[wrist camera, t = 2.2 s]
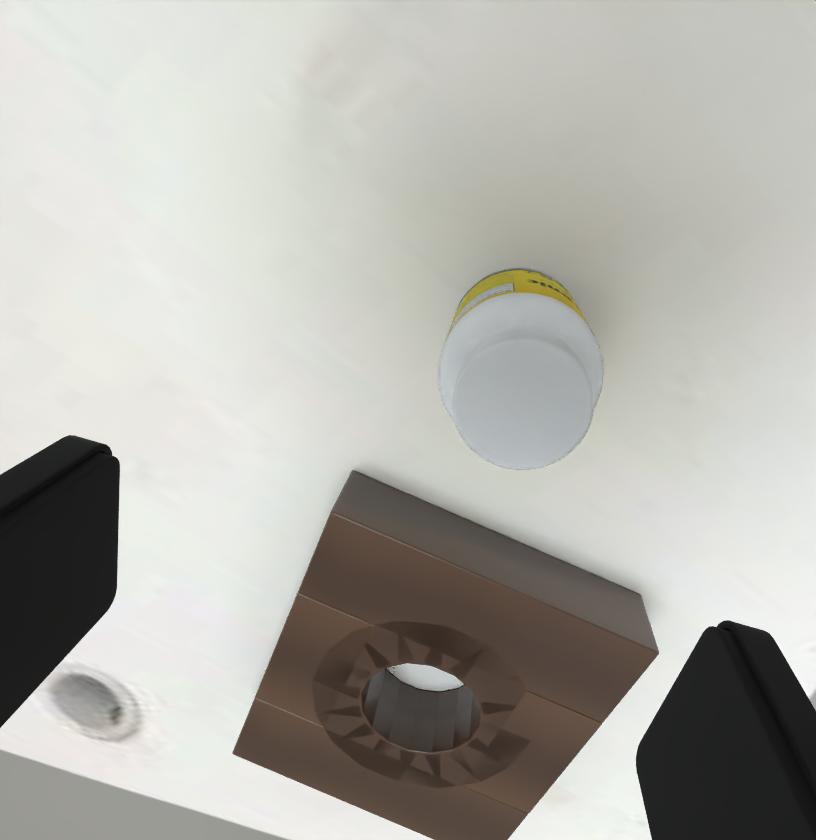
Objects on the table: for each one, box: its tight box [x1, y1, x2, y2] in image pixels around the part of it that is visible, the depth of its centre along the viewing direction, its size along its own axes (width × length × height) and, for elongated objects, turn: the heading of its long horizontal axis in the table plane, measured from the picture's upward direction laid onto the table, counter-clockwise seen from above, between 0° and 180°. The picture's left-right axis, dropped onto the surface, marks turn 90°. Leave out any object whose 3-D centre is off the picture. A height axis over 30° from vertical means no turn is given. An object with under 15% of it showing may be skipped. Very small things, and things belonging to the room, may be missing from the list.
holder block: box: [233, 471, 659, 840], centre depth 32 cm, size 18×16×4 cm
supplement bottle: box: [438, 268, 603, 470], centre depth 21 cm, size 5×5×10 cm
